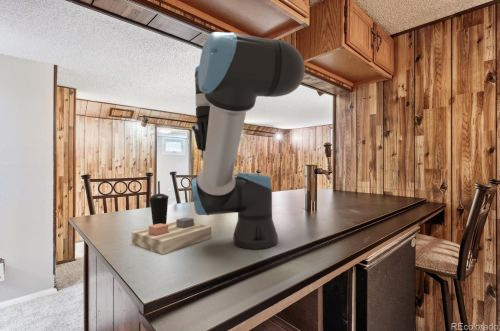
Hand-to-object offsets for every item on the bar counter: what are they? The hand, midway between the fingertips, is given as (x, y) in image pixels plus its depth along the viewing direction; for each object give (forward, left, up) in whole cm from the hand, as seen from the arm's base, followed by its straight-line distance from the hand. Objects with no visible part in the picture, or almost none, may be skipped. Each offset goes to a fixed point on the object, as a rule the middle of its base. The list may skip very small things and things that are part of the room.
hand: (207, 167), depth 97 cm
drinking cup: (+20, +8, -26) cm, 33 cm away
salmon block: (+3, +20, -24) cm, 31 cm away
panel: (+3, +14, -25) cm, 29 cm away
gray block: (+3, +9, -24) cm, 25 cm away
